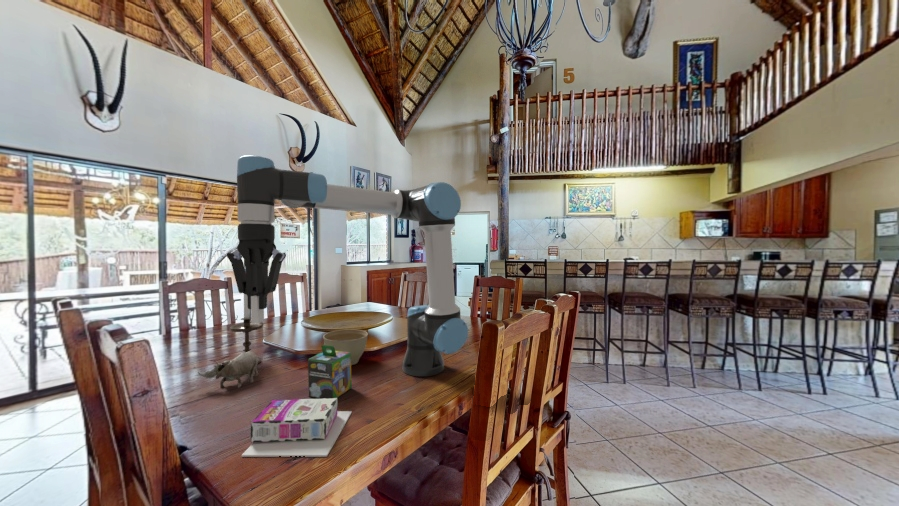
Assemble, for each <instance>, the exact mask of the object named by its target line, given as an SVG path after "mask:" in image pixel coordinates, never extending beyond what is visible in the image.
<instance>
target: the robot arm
mask: <svg viewBox="0 0 899 506" xmlns="http://www.w3.org/2000/svg"><path fill="white" fill-rule="evenodd" d="M236 167H237V168H236V193H237V206H236V207H237V221H238V222H240V223H239V224H238V225H237V239H238V244H237V246H236V249H235V250H234V251H232V252H227V254H226V257H227V259H228V260H229V262H230V263H231V267H232V271H233V275H234V280H235V283H236V286H237V290H238V293H239V294H243V295H244V294H246V295H247V297H248V309H250V317H251V319H250V322H251V324H259V323H264V322H265V309H267V307H268V295H269V294H271V293H274V292H276V290H277V285H278V281H279V277H280V273H281V268H282V264H283V261H284V260H285V259H286V257H287V253H286V252H281V251H280V250H278V249H277V246H276V244H275V238H276V235H275V234H276V228H275V225H274V224H273V223H275V201H280V202H281V203H282V204H283V205H284V206H285V207H287V208H291V209H298V208H304V209H307V208H308V209H321V210H331V211H342V212H343V211H344V212H354V213H366V214H376V215H377V214H379V215H391V217H393V218H394V219H401V220H409V221H413V222H418V227H419V229H421V231H423V233H424V234H423V235H424V247H425V249H424V251H425V262H426V263H425V265H426V279H427V291H428V292H427V297H428V304H426V305H424V304H422V305H416V306H415V305H414V306H411V307H409V308H408V309H407V314H406V315H407V317H406V320H407V323H406V324H407V329H406V331H407V333H406V334H407V337H406V338H407V344H406V345H407V347H406V352H405V354H404V357H403V361H402V368H401V369H402V371H403V373H405V374H406V375H409V376H413V377H420V378H421V377H422V378H423V377H431V376H436V375H439V374H440V373H442V372H443V371H444V370H445V360H444V358H443V355H442V353H443V354H446V355H447V354H448V355H450V354H451V355H452V354H454V353H457V352H459V351H460V350H461V349H462V348H463V347H464V345H465V344H466V342H467V340H468V337H469V327H468V325H467V323H466V322H465V320H463V319H462V318H461V317H462V315H461V307H460V306H458V305H457V304H456V298H455V297H456V294H455V293H456V292H455V280H454V279H455V278H454V263H453V260H454V258H453V244H452V231H453V230H452V229H453V228H454V227H455V226H456V221H455V220H456V219H455V218H456V217H457V216H458V214H459V212H460V211H461V207H462V203H461V202H462V200H461V197H460V195H459V193H458V191H457V189H455V187H453V186H452V185H451V184H449V183H447V182H442V181H440V182H432V183H430V184H428V185H424V186H421V187H417V188H414V189H408V190H407V189H406V190H402V189H395V190H393V191H386V190H377V189H368V188H361V187H360V188H359V187H354V186H353V187H352V186H346V185H345V186H343V185H335V184H328V181H327V178H326V176H325V175H323V174H320V173H316V172H315V173H314V172H306V171H297V170H290V169H289V170H287V169H281V168H277V167H276V166H275V162H274V160H272V159H271V158H270V157H269V158H268V157H264V156H260V155H242V156H240V157H239V158H238V160H237V165H236ZM242 258H243V259H244V262H243V260H242ZM271 258H272V261H271V263H270V259H271ZM269 266H270V267H269Z"/></svg>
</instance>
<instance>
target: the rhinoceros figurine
mask: <svg viewBox="0 0 899 506" xmlns="http://www.w3.org/2000/svg"><path fill="white" fill-rule="evenodd" d="M257 357H258V356H257V354H256V353H255V352H254V351H252V350H250V351H248V352H242V353H239V354H238V355H236V356H235V357H234V358H233V359H229V360H224V361H222V362H221V363H219V362H218V360H216V361H215V363H216V365H214V366H213V367H214V368H212V369H211V370H210V369H209V370H206V371H205V372H204V373H201V372H199V371H198V372H197V374H198V375H199V376H200V377H203V378H205V379H212V378H215V380H218V379H219V378H221V380H220V381H219V385H220V386H219V388H220V387H221V388H223V387H224V383H225V382H234V381H237V382H238V384H237V388H241V387H242V385H243V384H242V379H241V378H242V377H244V376H246V375H247V376H248V380H247V381H248V383H253V382H254V377H257V376H259V374H260V373H259V372H258V369H257V367H258V365H259V364H258V358H257Z"/></svg>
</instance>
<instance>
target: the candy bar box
mask: <svg viewBox="0 0 899 506" xmlns="http://www.w3.org/2000/svg"><path fill="white" fill-rule="evenodd" d="M337 411H338V398H296V399H294V398H291V399H273V400H271V401H270V402H269V403H268V404H267V405H266V406H265V407H264V408H263V409H262V411H261V412H259V413H258V415H257V416H256V417H255V418H254V419H253V420H252V421H251V422H250V443H252V444H253V443H255V442H276V441H303V440H325V439H326V437H327V435H328V433H329V431H330V429H331V427H332V425H333V423H334V421H335V419H336V417H337Z"/></svg>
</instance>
